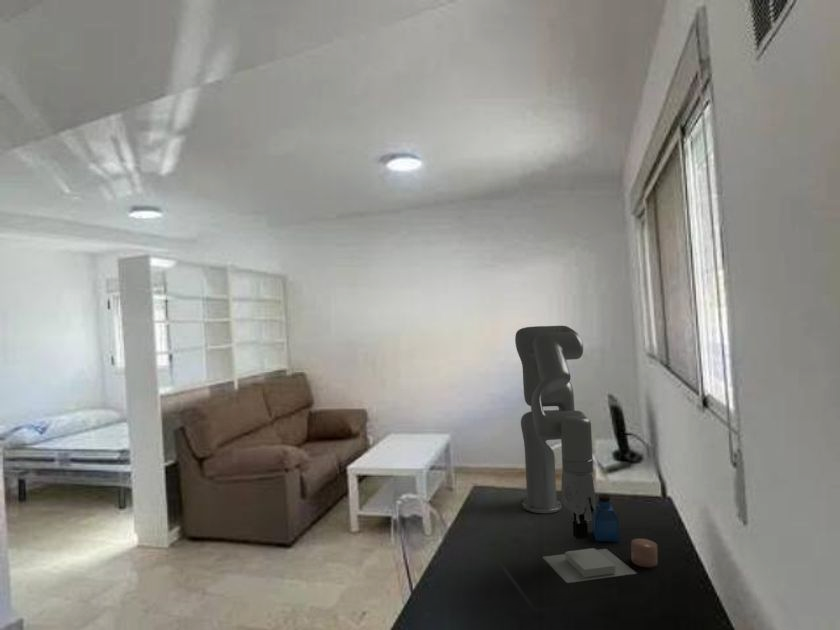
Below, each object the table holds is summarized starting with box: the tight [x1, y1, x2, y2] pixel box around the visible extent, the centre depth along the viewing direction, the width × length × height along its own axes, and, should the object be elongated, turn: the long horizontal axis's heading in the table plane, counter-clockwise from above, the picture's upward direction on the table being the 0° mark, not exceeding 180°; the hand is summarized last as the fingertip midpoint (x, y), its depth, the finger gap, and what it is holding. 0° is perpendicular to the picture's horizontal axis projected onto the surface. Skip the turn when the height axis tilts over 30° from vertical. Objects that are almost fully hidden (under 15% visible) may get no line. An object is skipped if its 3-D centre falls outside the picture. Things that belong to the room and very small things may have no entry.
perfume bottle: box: [591, 493, 620, 543], centre depth 147 cm, size 6×6×12 cm
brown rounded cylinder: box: [630, 538, 658, 568], centre depth 131 cm, size 6×6×5 cm
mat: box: [542, 548, 638, 584], centre depth 130 cm, size 14×18×1 cm
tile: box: [564, 547, 616, 577], centre depth 130 cm, size 2×8×10 cm
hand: (580, 537), depth 134 cm, fingers closed
